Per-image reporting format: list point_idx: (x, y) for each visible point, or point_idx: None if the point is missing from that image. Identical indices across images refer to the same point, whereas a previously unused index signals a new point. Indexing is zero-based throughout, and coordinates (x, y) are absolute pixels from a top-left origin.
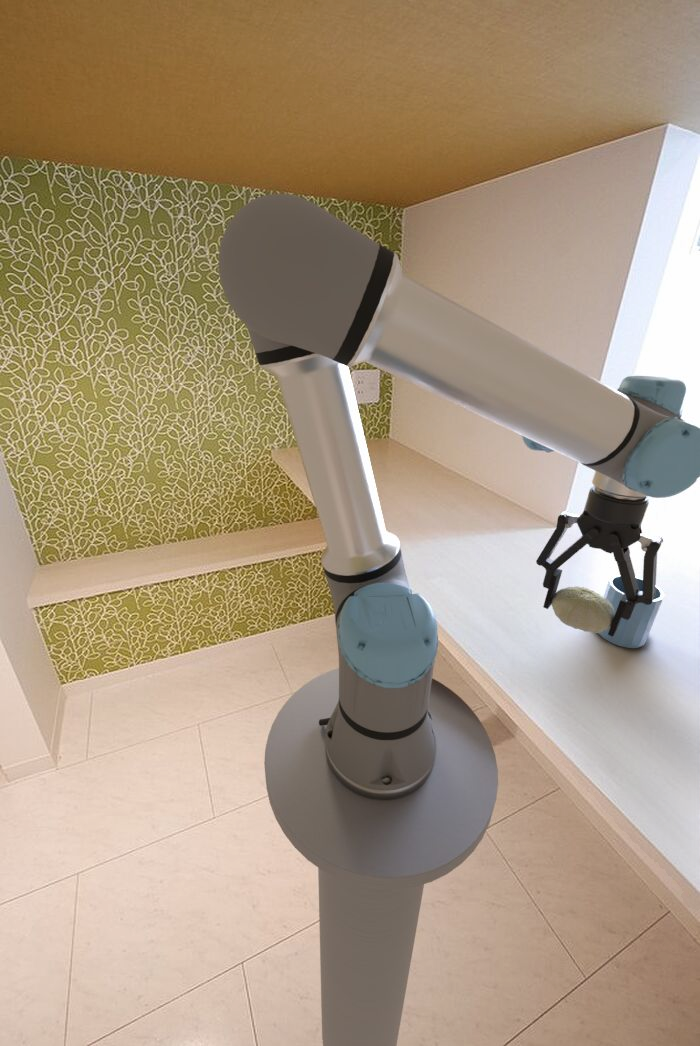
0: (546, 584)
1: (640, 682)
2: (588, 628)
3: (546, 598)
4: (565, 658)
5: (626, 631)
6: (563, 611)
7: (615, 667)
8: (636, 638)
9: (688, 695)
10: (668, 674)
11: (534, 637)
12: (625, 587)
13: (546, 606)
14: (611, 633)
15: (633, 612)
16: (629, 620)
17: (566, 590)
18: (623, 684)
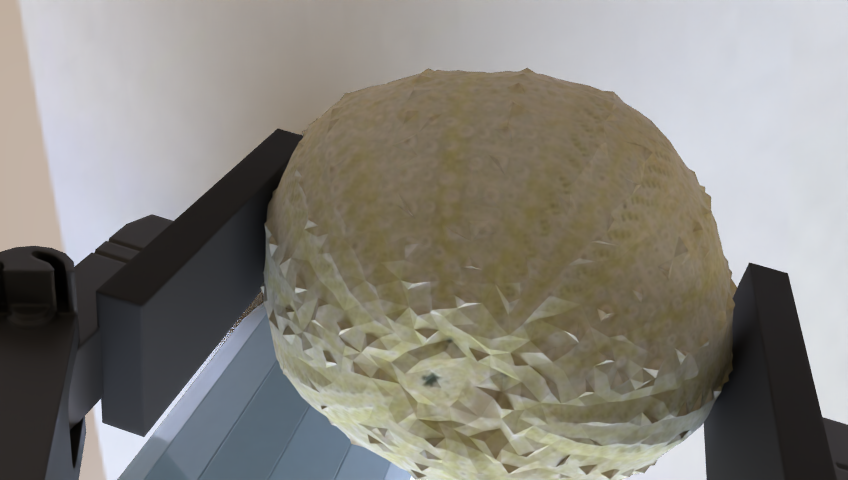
0: (839, 449)
1: (210, 67)
2: (425, 71)
3: (793, 324)
4: (559, 73)
5: None
6: (645, 156)
7: None
8: (244, 331)
9: (43, 80)
10: (126, 183)
11: (745, 181)
12: (38, 417)
13: (765, 277)
14: (283, 139)
15: (220, 429)
16: (251, 390)
17: (637, 413)
18: (272, 8)
